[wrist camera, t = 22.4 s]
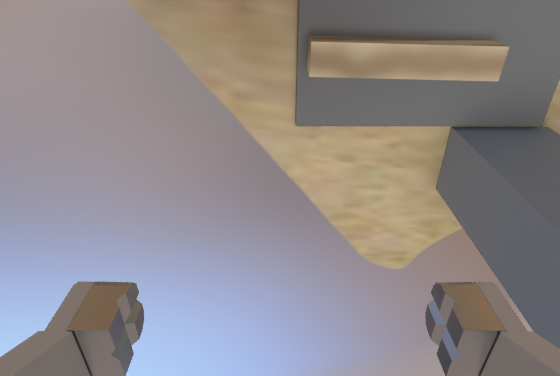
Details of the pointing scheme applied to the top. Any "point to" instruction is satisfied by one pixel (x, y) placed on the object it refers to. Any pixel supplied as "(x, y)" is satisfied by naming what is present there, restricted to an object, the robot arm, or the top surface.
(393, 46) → the maple rod
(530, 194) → the slate block
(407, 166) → the top surface
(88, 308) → the robot arm
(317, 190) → the top surface
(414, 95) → the rubber mat
